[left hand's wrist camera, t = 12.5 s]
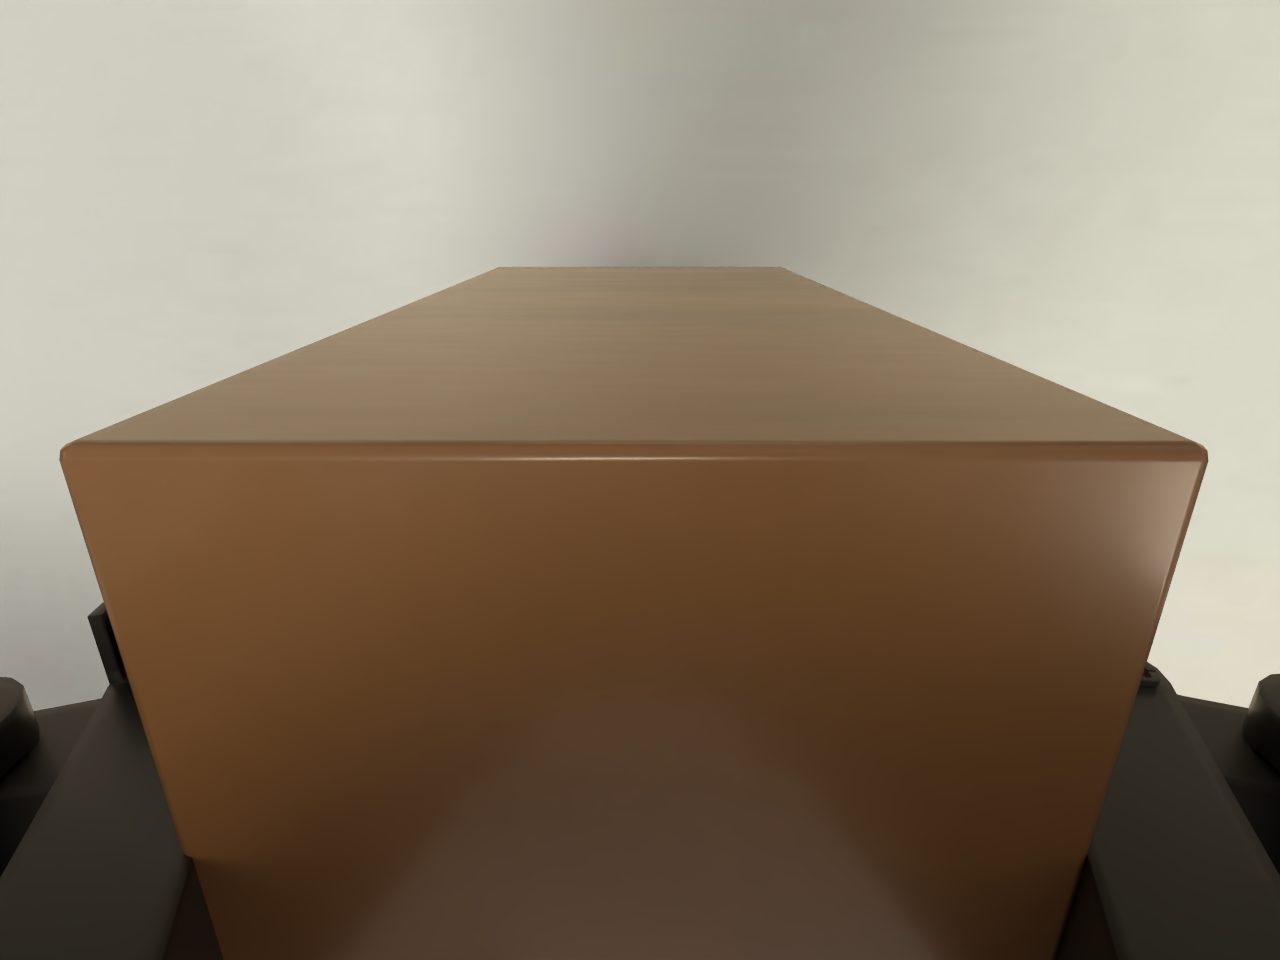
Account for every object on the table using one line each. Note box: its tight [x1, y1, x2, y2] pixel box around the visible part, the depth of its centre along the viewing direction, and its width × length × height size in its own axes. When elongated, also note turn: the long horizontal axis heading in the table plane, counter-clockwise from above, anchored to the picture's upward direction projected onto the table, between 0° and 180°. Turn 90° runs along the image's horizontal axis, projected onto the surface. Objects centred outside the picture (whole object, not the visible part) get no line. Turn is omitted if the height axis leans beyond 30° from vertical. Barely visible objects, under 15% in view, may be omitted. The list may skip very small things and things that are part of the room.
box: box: [60, 267, 1208, 960], centre depth 14 cm, size 25×6×13 cm, turn 0°
